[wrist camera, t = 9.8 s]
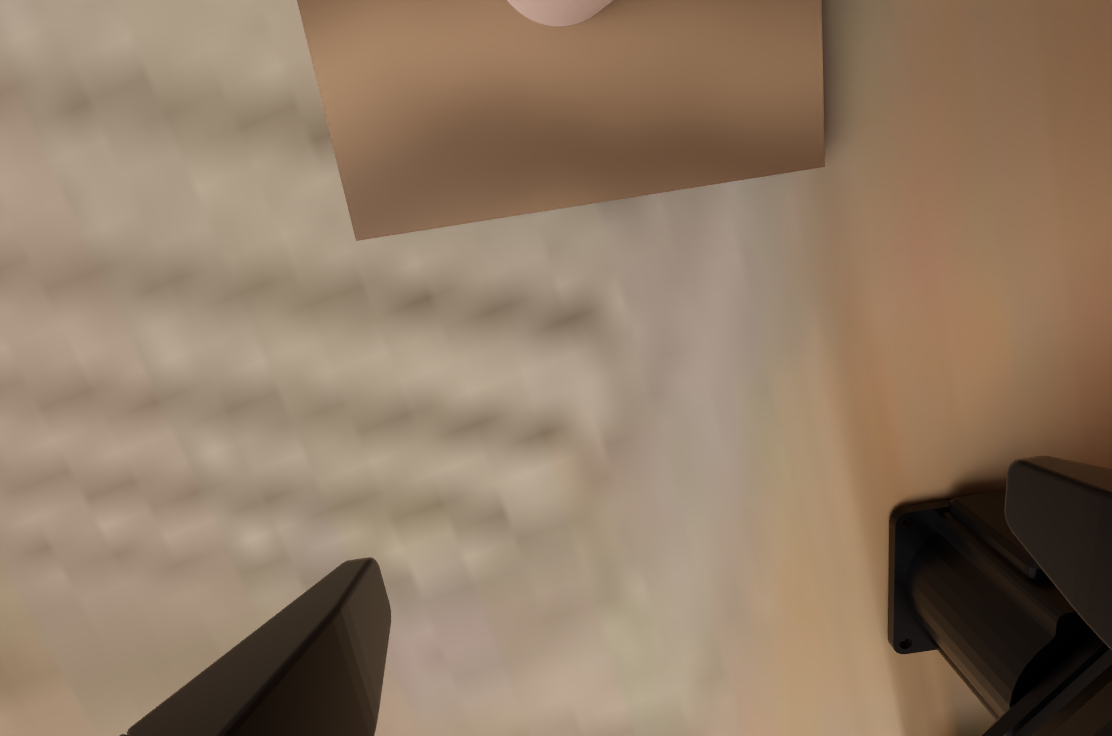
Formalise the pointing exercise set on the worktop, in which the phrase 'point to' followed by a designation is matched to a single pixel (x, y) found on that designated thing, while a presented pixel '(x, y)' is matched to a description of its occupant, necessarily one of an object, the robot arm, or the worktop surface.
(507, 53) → the walnut board
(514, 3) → the white cup with straw
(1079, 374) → the worktop surface
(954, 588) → the robot arm
